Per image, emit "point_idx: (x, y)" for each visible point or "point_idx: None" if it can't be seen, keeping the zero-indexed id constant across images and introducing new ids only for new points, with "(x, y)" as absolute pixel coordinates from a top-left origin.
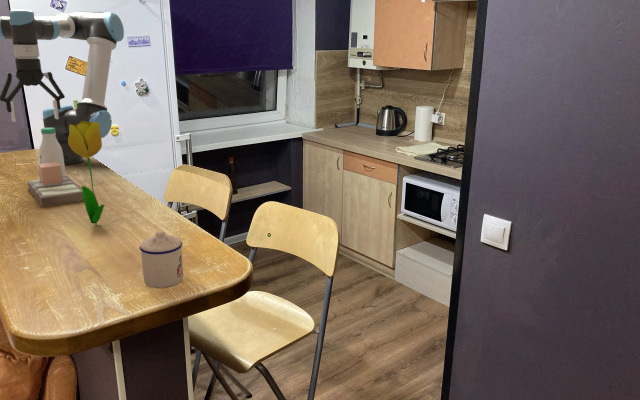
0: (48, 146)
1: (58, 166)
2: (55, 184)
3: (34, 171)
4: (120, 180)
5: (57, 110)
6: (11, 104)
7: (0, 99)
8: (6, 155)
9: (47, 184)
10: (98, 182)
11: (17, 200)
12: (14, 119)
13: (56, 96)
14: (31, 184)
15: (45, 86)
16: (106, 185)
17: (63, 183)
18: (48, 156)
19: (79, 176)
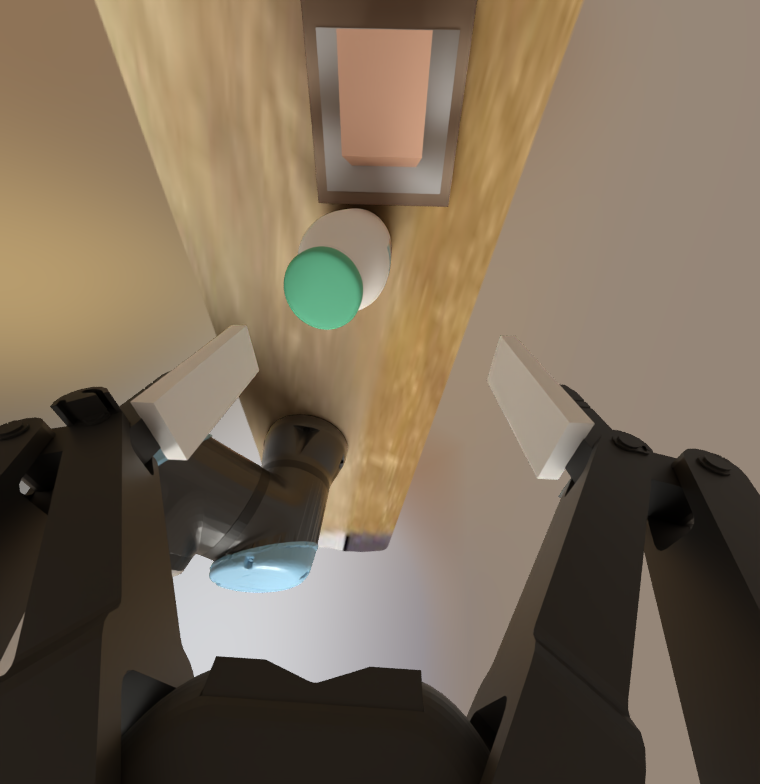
0: (351, 229)
1: (347, 30)
2: None
3: (379, 397)
4: (150, 134)
5: (197, 353)
6: (578, 412)
7: (731, 465)
8: (396, 519)
9: None
10: (229, 156)
11: (528, 35)
12: (513, 342)
13: (82, 439)
14: (454, 132)
15: (57, 609)
16: (197, 73)
17: None
18: (363, 216)
19: None
